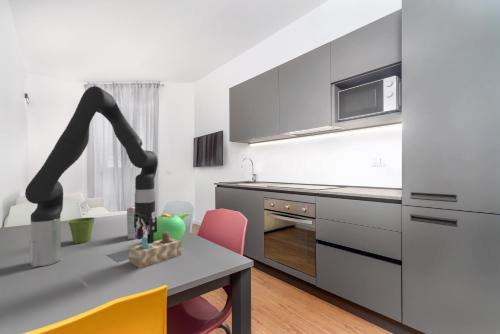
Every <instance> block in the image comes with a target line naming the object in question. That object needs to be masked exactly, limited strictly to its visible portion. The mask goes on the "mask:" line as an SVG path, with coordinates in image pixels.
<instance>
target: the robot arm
mask: <svg viewBox="0 0 500 334" xmlns="http://www.w3.org/2000/svg"><path fill="white" fill-rule="evenodd" d="M96 113H98V114H101V116H103V117H104V118H105V119H106V120H107V121H108V122H109V123H110V125H111V126H112V129H113V132H114V133H113V134H114V135H115V137H116V138H117V140H118V141H119V143H120V144H121V145H122V146H123V148H124V149H125V151H126V154H127V156H128V159H129V162H130V163H131V164H132V165H133V166H134V167H136V168H137V169H141V170H140V173H139V174H137V175H136V176H135V180H134V182H135V183H134V184H135V185H134V186H135V188H134V189H135V190H134V206H135V214H134V228H136V230H137V239H136V240H142V237H144V235H143V227H144V229H145V232H147V234H146V236H147V243H148V244H151V243H153V242H154V241H155V239H154V233H155V232H157V217H158V216H153V213H155V211H156V191H155V176H156V175H157V169H158V164H159V161H158V156H157V154H156V153H155V152H154V151H151V150H145V149H143V140H142V139H141V138H140V136H139V135H138V134H137V132H136V131H135V129H134V128H133V127H132V126H131V124H130V123H129V122H128V121H127V118H126V117H125V116H124V114H123V112H122V111H121V109H120V107H119V104H118V103H117V101H116V100H115V97H114V96H113V95H112V94H110V93H109V92H108V91H106V90H105V89H103V88H102V87H99V86H95V85H93V86H90V87H88V88H87V89H86V90H85V91H84V93H83V94H82V96H81V98H80V100H79V102H78V104H77V107H76V109H75V111H74V113H73V115H72V117H71V118H70V120H69V121H68V124H67V125H66V127H65V129H64V131H63V132H62V133H61V135H60V137H59V138H58V140H57V141H56V143H55V145H54V147H53V148H52V150H51V152H50V153H49V155H48V156H47V158H46V160H45V161H44V163H43V164H42V166H41V167H40V169H39V170H38V172H36V173H35V175H34V177H33V178H32V179H31V180H30V182H29V183H28V185H27V186H26V188H25V192H24V196H25V198H26V200H27V201H28V202H29V203H30V204H35V205H36V206H37V207H36V208H35V210H34V211H33V212H31V214H30V239H29V265H30V266H31V267H32V268H37V267H43V266H49V265H53V264H57V263H58V262H60V261H61V260H62V243H61V242H62V239H61V237H62V235H61V234H62V233H61V231H62V230H61V214H62V211H63V206H64V189H63V188H64V187H63V185H62V184H61V182H60V178H61V176H62V175H63V174H64V173H65V172H66V171H67V170H68V169H70V167H72V166H73V165H74V164H75V163H76V162H77V161H78V160H79V159H80V157H81V156H82V155H83V153H84V152H85V149H86V148H87V146H88V144H89V142H90V141H89V139H90V126H91V125H90V124H91V122H92V119H93V118H94V116H95V115H96ZM136 223H137V224H136ZM153 227H154V228H153ZM149 229H150V231H149Z"/></svg>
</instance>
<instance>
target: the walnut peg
mask: <svg viewBox="0 0 500 334" xmlns="http://www.w3.org/2000/svg"><path fill="white" fill-rule="evenodd" d="M162 243H163V244H166V243H170V232H168V231H166V232H162Z"/></svg>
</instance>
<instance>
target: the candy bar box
mask: <svg viewBox="0 0 500 334" xmlns="http://www.w3.org/2000/svg"><path fill="white" fill-rule="evenodd" d="M134 214H135V205H134V206H133V205H132V206H130V207H128V208H126V221H127V222H126V223H127V225H126V227H127V240H138V239H137V230H136V228H134ZM136 224H137V223H136ZM145 234H146V229H144V227H143V236H144V235H145Z"/></svg>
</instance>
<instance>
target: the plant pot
mask: <svg viewBox="0 0 500 334" xmlns="http://www.w3.org/2000/svg"><path fill="white" fill-rule="evenodd" d="M95 220H96V217H79V218H73V219H69V220H67V223H68V225H69V228H70V232H71V233H70V234H71V236H72V237H71V238H72V242H73V243H74V244H79V243H80V244H83V243H88V242H89V241H91V240H92V239H91V238H92V232H93V226H94V224H95Z"/></svg>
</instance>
